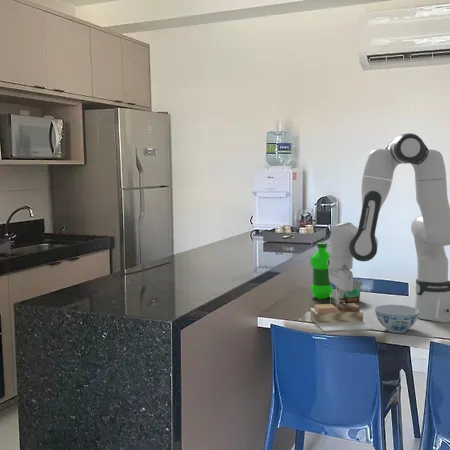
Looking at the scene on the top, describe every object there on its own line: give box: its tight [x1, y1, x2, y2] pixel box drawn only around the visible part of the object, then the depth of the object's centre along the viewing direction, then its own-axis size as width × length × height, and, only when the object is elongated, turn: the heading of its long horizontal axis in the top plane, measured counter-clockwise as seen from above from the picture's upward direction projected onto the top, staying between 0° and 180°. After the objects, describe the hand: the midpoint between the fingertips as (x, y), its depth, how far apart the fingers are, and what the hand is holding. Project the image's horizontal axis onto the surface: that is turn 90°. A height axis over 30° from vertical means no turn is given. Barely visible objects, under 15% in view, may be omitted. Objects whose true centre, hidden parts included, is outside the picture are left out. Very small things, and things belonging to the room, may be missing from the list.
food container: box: [338, 278, 363, 304], centre depth 236 cm, size 12×6×10 cm, turn 114°
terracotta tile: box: [313, 303, 337, 313], centre depth 209 cm, size 7×6×2 cm
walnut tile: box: [336, 303, 361, 312], centre depth 209 cm, size 7×6×2 cm
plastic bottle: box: [309, 242, 334, 300], centre depth 247 cm, size 10×11×25 cm
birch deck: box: [309, 306, 364, 324], centre depth 210 cm, size 18×9×4 cm, turn 96°
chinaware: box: [374, 304, 419, 334], centre depth 195 cm, size 15×15×8 cm
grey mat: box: [315, 320, 374, 333], centre depth 200 cm, size 18×10×1 cm, turn 96°
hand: (340, 297), depth 217 cm, fingers closed
